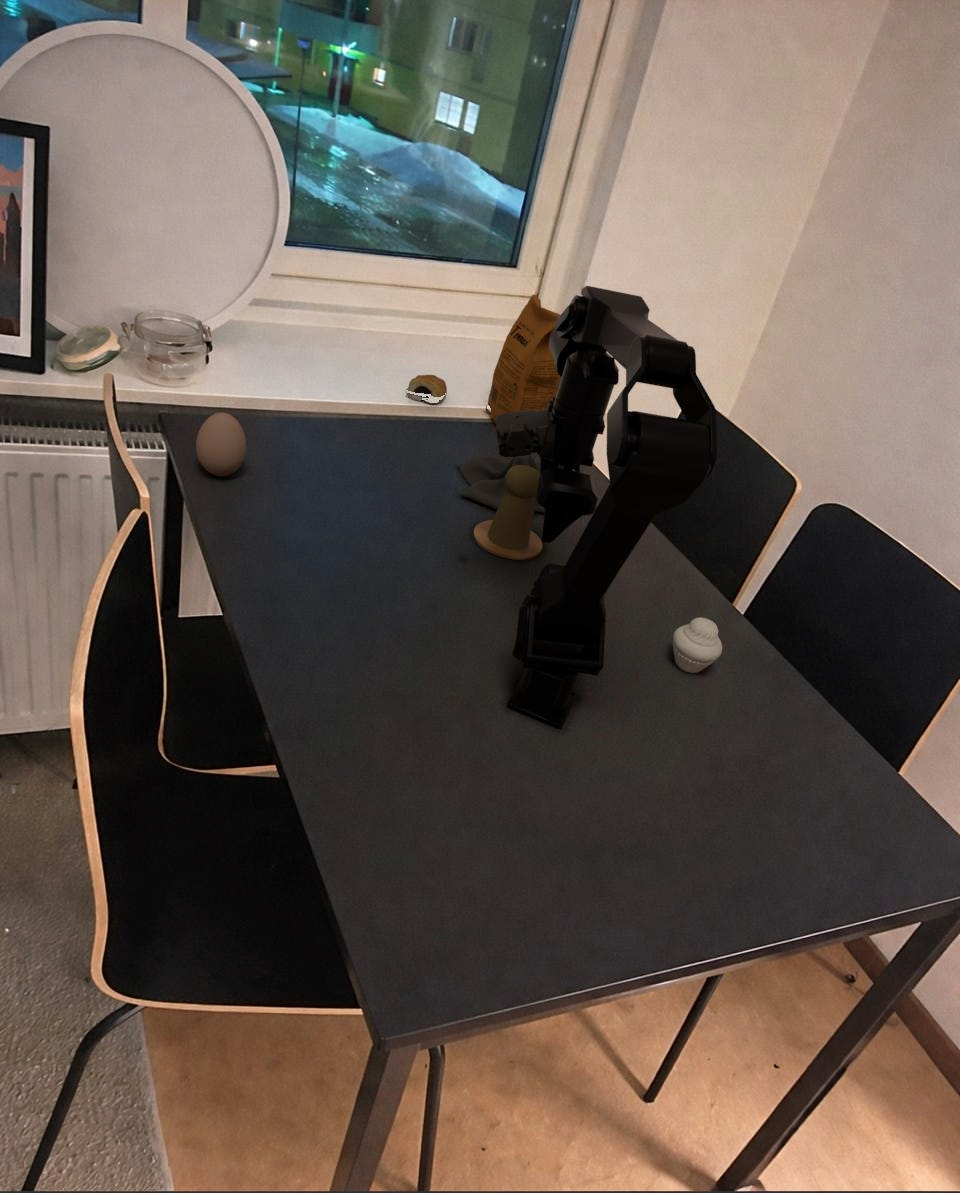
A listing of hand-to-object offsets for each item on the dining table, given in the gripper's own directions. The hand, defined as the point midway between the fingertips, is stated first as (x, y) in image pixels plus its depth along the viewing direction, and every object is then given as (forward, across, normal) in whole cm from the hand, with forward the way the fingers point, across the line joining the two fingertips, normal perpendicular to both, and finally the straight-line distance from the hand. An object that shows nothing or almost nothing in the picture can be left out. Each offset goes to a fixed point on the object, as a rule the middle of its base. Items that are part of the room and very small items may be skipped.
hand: (544, 520), depth 109 cm
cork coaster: (+14, -15, -1) cm, 20 cm away
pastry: (+16, -62, -15) cm, 66 cm away
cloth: (+15, -32, +2) cm, 35 cm away
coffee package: (+16, -58, +2) cm, 60 cm away
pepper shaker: (+13, -15, -1) cm, 20 cm away
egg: (+14, -19, -42) cm, 48 cm away
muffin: (+12, +8, +21) cm, 26 cm away
